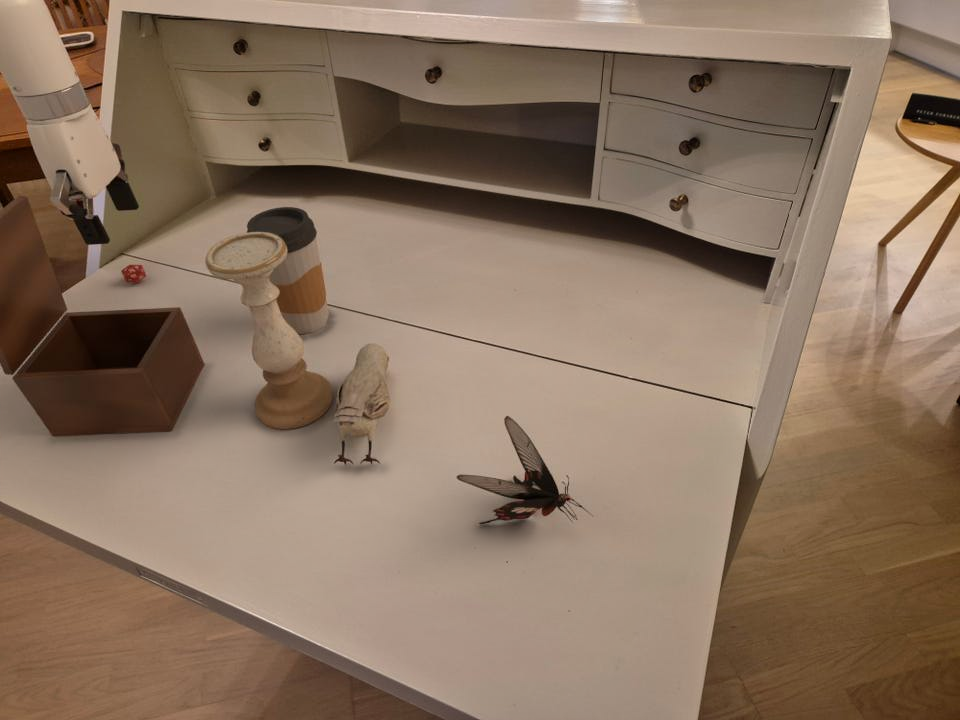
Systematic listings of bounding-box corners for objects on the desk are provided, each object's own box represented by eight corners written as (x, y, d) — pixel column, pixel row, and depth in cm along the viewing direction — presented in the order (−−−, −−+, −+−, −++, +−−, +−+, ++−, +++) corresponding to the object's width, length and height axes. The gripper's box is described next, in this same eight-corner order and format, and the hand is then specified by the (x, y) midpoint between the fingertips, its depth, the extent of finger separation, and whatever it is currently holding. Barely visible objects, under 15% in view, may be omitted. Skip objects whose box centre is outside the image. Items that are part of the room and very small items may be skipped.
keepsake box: (204, 364, 80) (180, 307, 74) (171, 431, 71) (140, 372, 65) (98, 368, 80) (65, 312, 75) (52, 436, 71) (11, 378, 66)
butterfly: (494, 548, 62) (430, 472, 61) (551, 488, 65) (492, 414, 63) (543, 576, 52) (469, 487, 50) (609, 505, 55) (541, 417, 53)
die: (128, 289, 94) (120, 272, 92) (126, 280, 96) (118, 263, 94) (149, 283, 95) (141, 266, 93) (146, 274, 97) (139, 257, 95)
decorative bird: (402, 370, 77) (394, 321, 72) (382, 474, 65) (371, 422, 60) (358, 371, 77) (347, 321, 73) (331, 474, 65) (315, 423, 60)
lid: (27, 196, 65) (18, 195, 65) (-43, 254, 56) (-53, 253, 56) (67, 309, 74) (60, 308, 74) (13, 375, 66) (4, 374, 65)
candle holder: (320, 432, 70) (272, 276, 57) (244, 428, 71) (180, 274, 58) (342, 378, 76) (304, 228, 63) (273, 376, 78) (221, 227, 64)
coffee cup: (304, 297, 90) (277, 199, 81) (349, 313, 87) (327, 213, 77) (261, 329, 85) (227, 228, 75) (307, 347, 82) (278, 244, 72)
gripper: (59, 82, 85) (114, 199, 97) (-17, 130, 72) (58, 259, 83) (113, 78, 85) (163, 196, 96) (48, 125, 72) (114, 256, 83)
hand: (114, 225), depth 90 cm, fingers open, 9 cm apart
